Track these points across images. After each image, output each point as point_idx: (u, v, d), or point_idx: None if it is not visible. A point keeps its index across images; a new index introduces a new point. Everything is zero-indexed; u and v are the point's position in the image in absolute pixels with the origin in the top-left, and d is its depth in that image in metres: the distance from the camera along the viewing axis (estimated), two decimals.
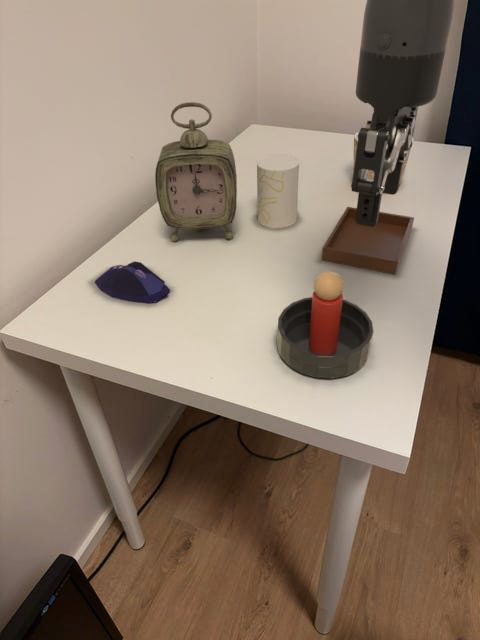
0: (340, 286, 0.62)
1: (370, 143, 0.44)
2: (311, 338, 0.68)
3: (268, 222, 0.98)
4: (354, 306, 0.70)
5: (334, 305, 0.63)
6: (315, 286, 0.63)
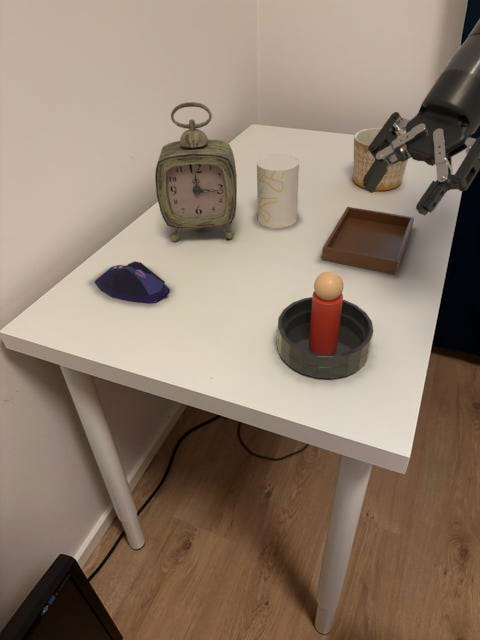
0: (340, 286, 0.62)
1: None
2: (311, 338, 0.68)
3: (268, 222, 0.98)
4: (354, 306, 0.70)
5: (334, 305, 0.63)
6: (315, 286, 0.63)
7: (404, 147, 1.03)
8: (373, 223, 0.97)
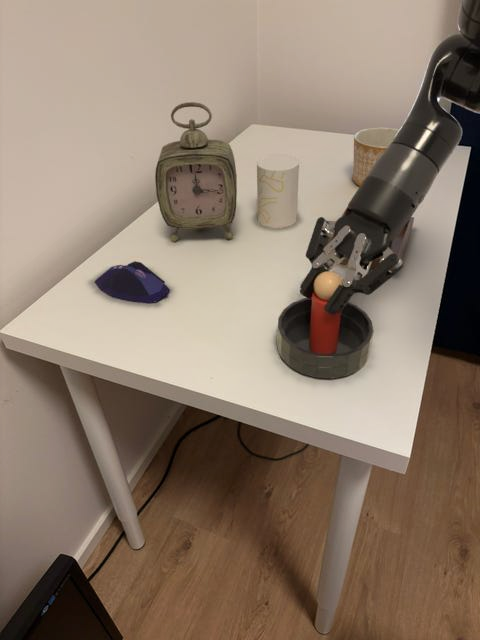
0: None
1: None
2: (311, 338, 0.68)
3: (268, 222, 0.98)
4: (354, 306, 0.70)
5: None
6: (315, 286, 0.63)
7: None
8: None
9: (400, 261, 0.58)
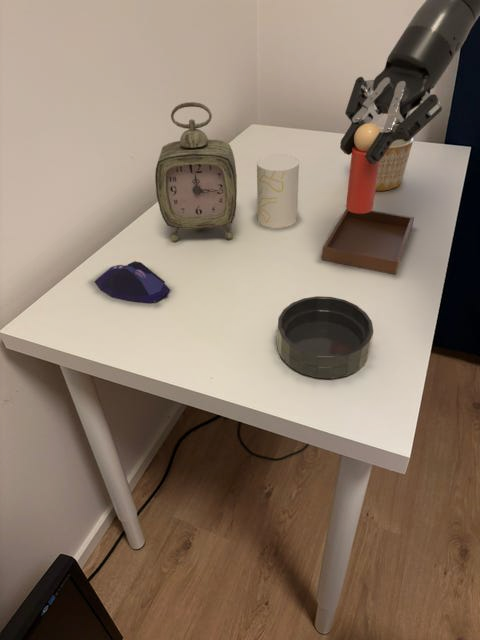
0: None
1: None
2: (349, 197, 0.72)
3: (268, 222, 0.98)
4: (354, 306, 0.70)
5: None
6: (356, 137, 0.66)
7: (404, 147, 1.03)
8: (373, 223, 0.97)
9: (439, 102, 0.62)
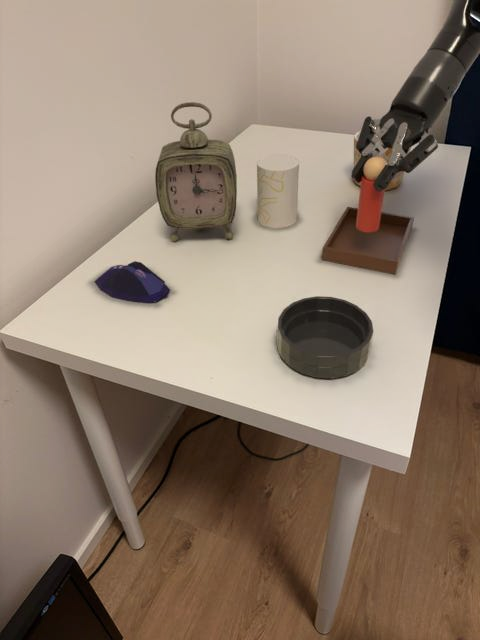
0: None
1: None
2: (358, 218, 0.83)
3: (268, 222, 0.98)
4: (354, 306, 0.70)
5: None
6: (365, 168, 0.78)
7: None
8: None
9: (435, 141, 0.73)
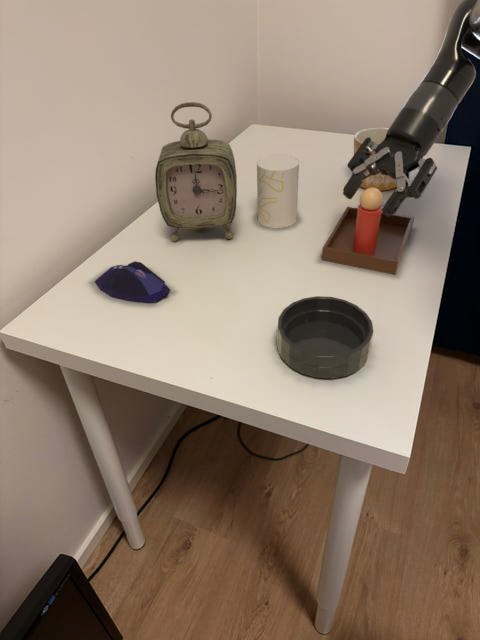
0: (381, 198, 0.80)
1: None
2: (355, 245, 0.87)
3: (268, 222, 0.98)
4: (354, 306, 0.70)
5: (376, 213, 0.81)
6: (361, 199, 0.81)
7: None
8: None
9: (434, 163, 0.76)
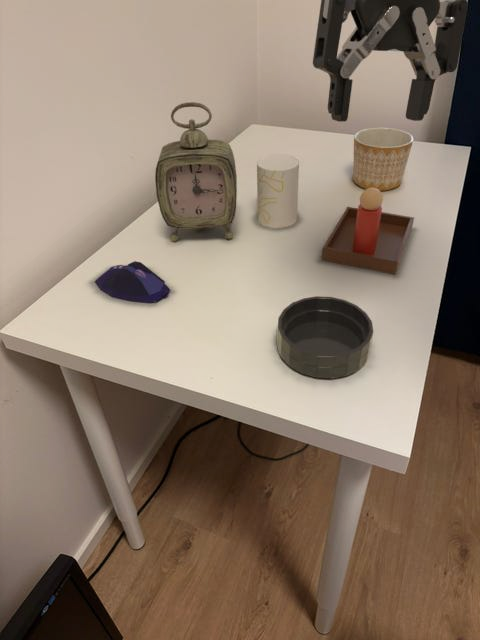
0: (381, 198, 0.80)
1: (326, 6, 0.42)
2: (355, 245, 0.87)
3: (268, 222, 0.98)
4: (354, 306, 0.70)
5: (376, 213, 0.81)
6: (361, 199, 0.81)
7: (404, 147, 1.03)
8: None
9: None
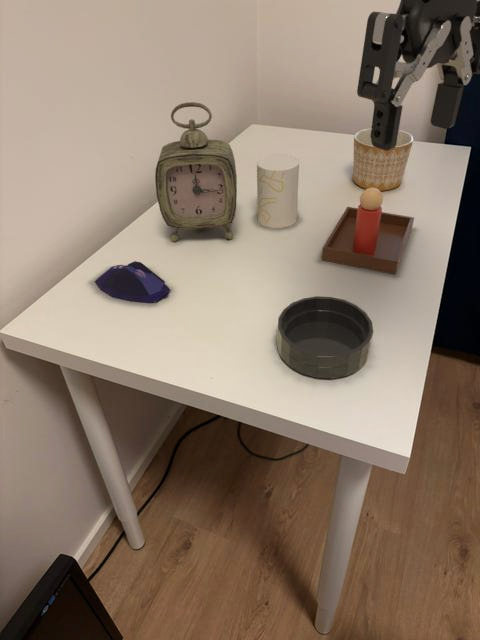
0: (381, 198, 0.80)
1: (378, 30, 0.36)
2: (355, 245, 0.87)
3: (268, 222, 0.98)
4: (354, 306, 0.70)
5: (376, 213, 0.81)
6: (361, 199, 0.81)
7: (404, 147, 1.03)
8: None
9: None
